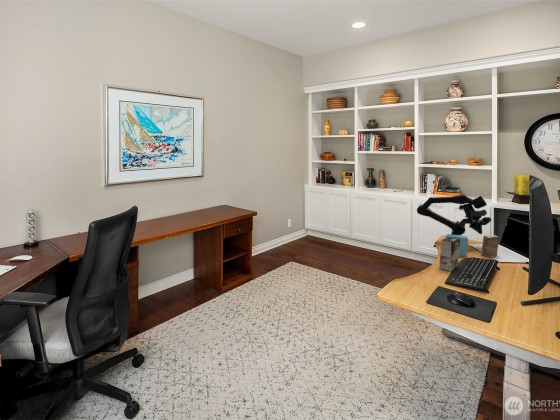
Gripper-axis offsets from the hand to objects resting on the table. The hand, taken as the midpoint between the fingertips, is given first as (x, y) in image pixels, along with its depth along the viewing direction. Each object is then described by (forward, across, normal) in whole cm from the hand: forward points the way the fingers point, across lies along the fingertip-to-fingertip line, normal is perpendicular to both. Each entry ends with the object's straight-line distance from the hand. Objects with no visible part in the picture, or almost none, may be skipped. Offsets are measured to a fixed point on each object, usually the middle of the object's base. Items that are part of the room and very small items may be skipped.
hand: (481, 233), depth 206 cm
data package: (+10, -18, +7) cm, 22 cm away
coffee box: (+21, -35, -5) cm, 41 cm away
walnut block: (+14, 0, +3) cm, 14 cm away
